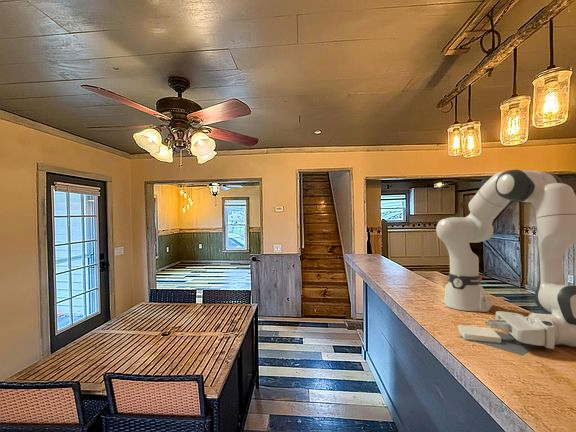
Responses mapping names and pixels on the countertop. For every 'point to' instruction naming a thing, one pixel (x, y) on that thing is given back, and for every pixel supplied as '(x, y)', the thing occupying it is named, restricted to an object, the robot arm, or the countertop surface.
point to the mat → (509, 344)
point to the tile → (479, 334)
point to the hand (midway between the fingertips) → (488, 323)
